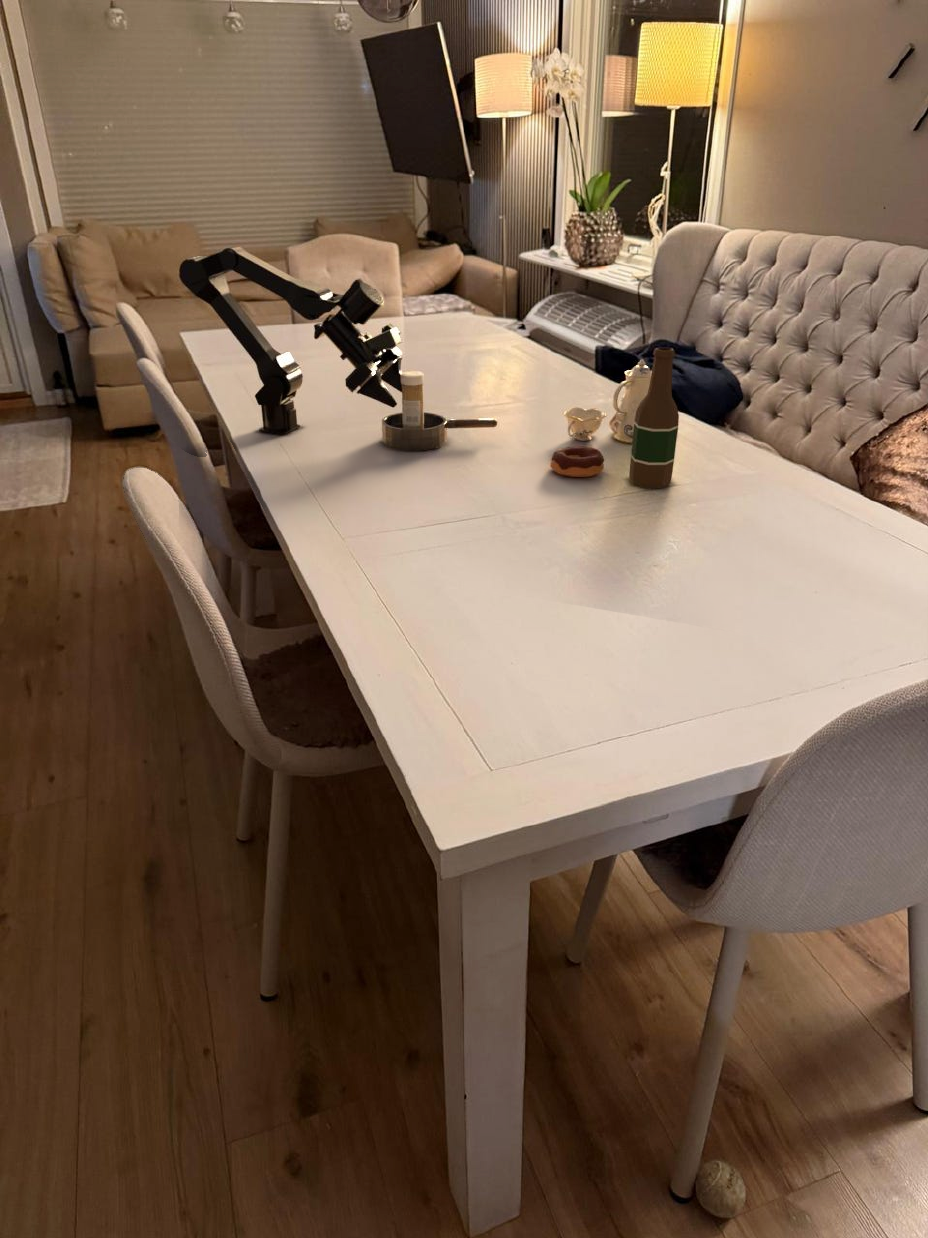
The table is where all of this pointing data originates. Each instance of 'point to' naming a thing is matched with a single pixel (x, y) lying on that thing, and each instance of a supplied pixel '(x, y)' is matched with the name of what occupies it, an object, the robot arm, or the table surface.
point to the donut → (577, 461)
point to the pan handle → (471, 423)
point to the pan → (414, 433)
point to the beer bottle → (655, 427)
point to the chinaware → (624, 418)
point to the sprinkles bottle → (412, 400)
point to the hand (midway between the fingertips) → (403, 400)
